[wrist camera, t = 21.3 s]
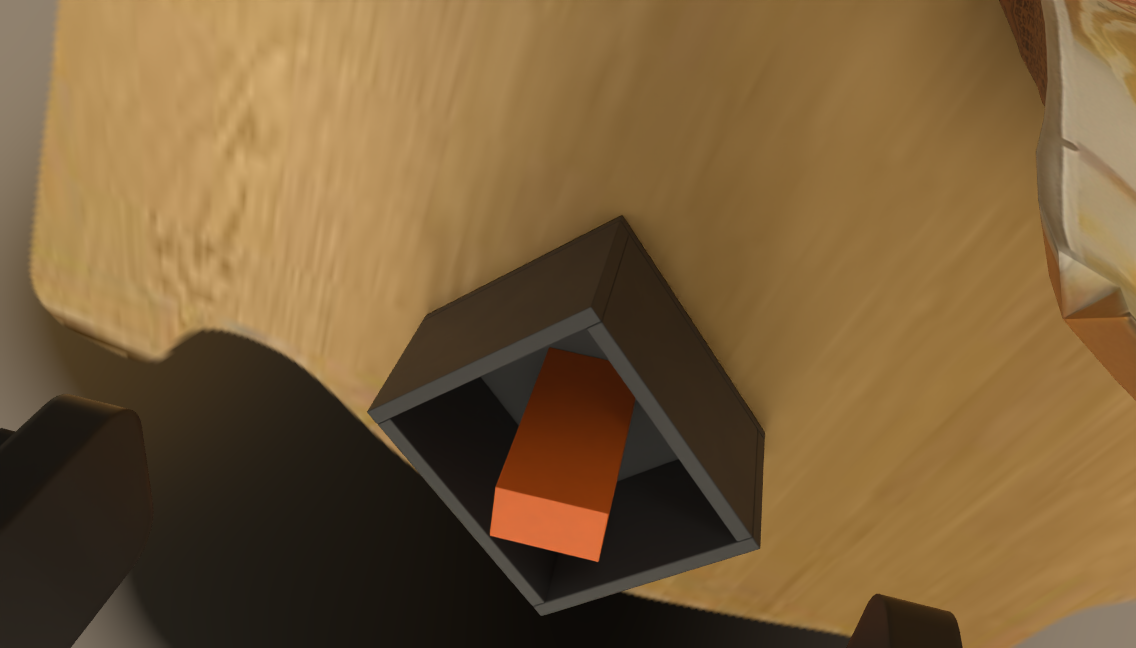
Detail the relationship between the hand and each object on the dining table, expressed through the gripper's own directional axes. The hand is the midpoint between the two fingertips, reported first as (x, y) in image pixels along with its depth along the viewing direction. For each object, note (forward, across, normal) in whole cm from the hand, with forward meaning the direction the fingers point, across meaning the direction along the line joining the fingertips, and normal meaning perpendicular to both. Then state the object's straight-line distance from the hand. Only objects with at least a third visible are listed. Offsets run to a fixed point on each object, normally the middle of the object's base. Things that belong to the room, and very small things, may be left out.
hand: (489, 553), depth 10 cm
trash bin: (+34, -1, -23) cm, 41 cm away
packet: (+34, -1, -23) cm, 40 cm away
